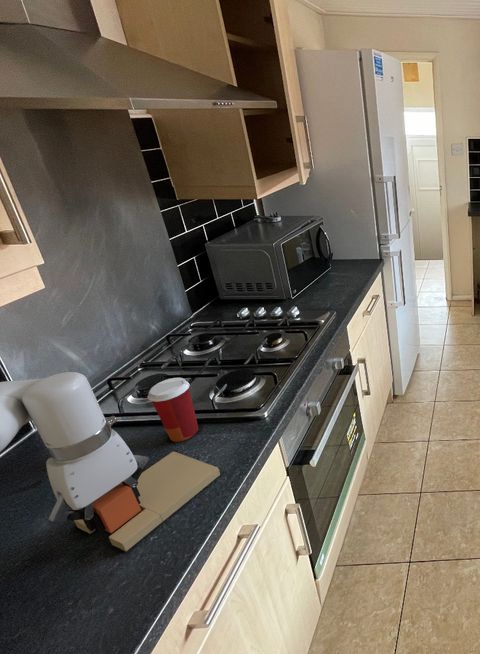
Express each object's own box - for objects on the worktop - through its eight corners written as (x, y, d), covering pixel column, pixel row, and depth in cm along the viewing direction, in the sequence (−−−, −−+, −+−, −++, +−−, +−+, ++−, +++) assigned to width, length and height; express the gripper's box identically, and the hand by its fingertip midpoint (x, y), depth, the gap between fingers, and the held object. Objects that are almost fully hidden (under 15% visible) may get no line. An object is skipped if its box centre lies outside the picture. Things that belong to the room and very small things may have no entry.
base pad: (126, 551, 75) (122, 544, 74) (77, 527, 79) (73, 520, 78) (220, 474, 90) (218, 467, 90) (175, 457, 95) (173, 451, 94)
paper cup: (203, 418, 107) (187, 372, 102) (204, 435, 101) (188, 388, 96) (164, 431, 103) (146, 384, 97) (163, 450, 97) (144, 401, 92)
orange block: (111, 533, 76) (99, 510, 74) (93, 525, 77) (81, 501, 75) (141, 510, 80) (131, 487, 78) (124, 502, 82) (113, 480, 80)
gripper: (122, 405, 81) (152, 475, 87) (-1, 472, 66) (45, 551, 72) (149, 413, 78) (177, 485, 85) (26, 485, 63) (72, 565, 70)
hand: (116, 514), depth 79 cm, fingers closed on orange block, 5 cm apart
